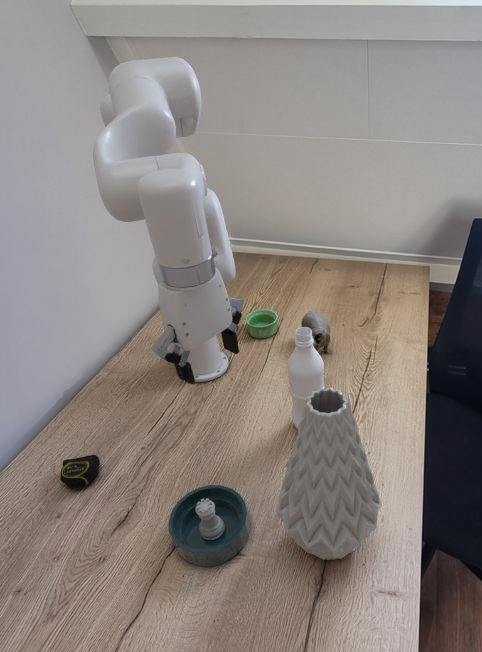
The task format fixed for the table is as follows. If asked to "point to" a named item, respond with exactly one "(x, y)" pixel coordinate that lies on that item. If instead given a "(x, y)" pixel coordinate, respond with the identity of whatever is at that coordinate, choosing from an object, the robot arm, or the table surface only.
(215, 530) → the rook chess piece
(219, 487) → the bowl
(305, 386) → the water bottle
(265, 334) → the ramekin
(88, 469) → the tape measure
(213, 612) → the table surface
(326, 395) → the vase
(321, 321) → the rhinoceros figurine
